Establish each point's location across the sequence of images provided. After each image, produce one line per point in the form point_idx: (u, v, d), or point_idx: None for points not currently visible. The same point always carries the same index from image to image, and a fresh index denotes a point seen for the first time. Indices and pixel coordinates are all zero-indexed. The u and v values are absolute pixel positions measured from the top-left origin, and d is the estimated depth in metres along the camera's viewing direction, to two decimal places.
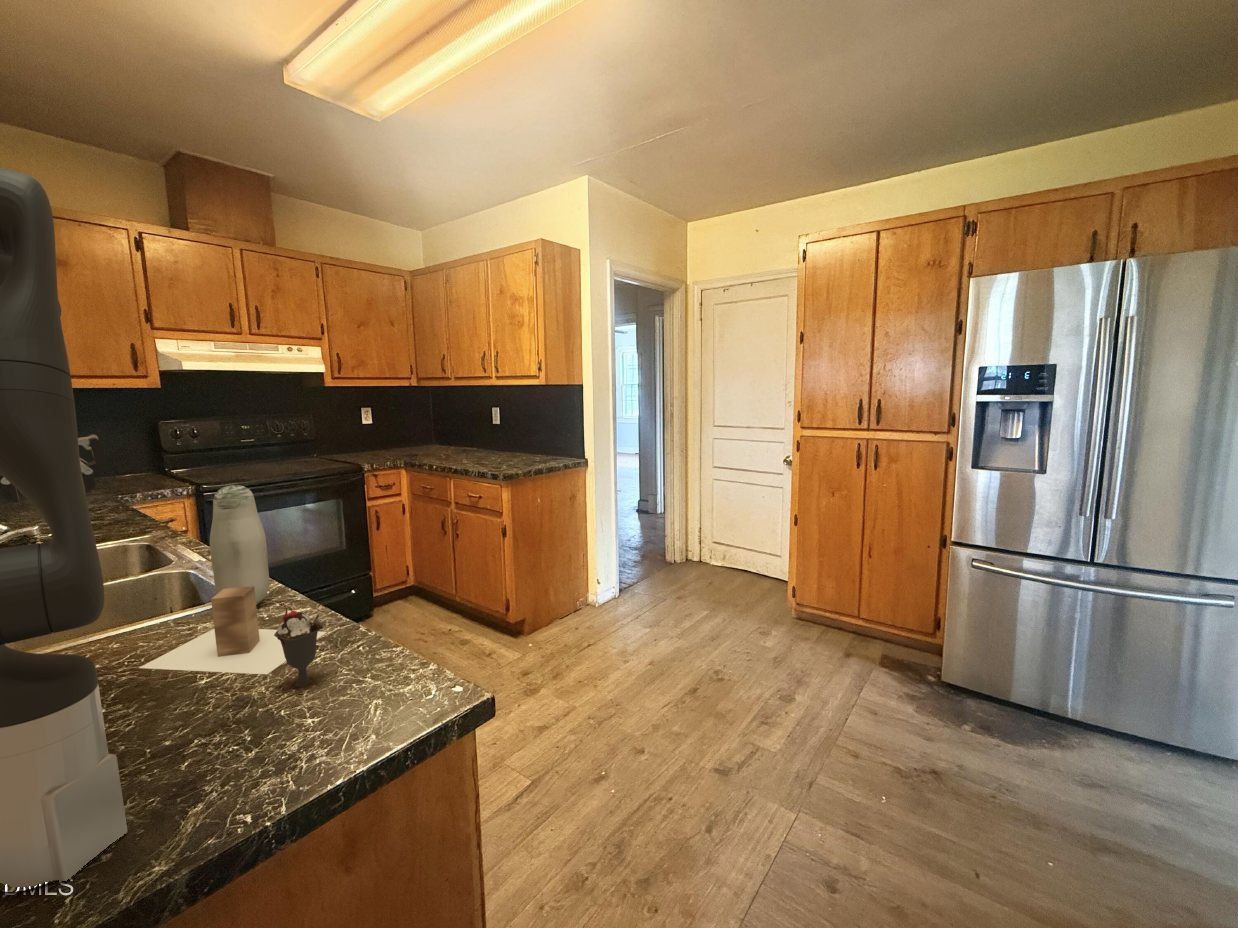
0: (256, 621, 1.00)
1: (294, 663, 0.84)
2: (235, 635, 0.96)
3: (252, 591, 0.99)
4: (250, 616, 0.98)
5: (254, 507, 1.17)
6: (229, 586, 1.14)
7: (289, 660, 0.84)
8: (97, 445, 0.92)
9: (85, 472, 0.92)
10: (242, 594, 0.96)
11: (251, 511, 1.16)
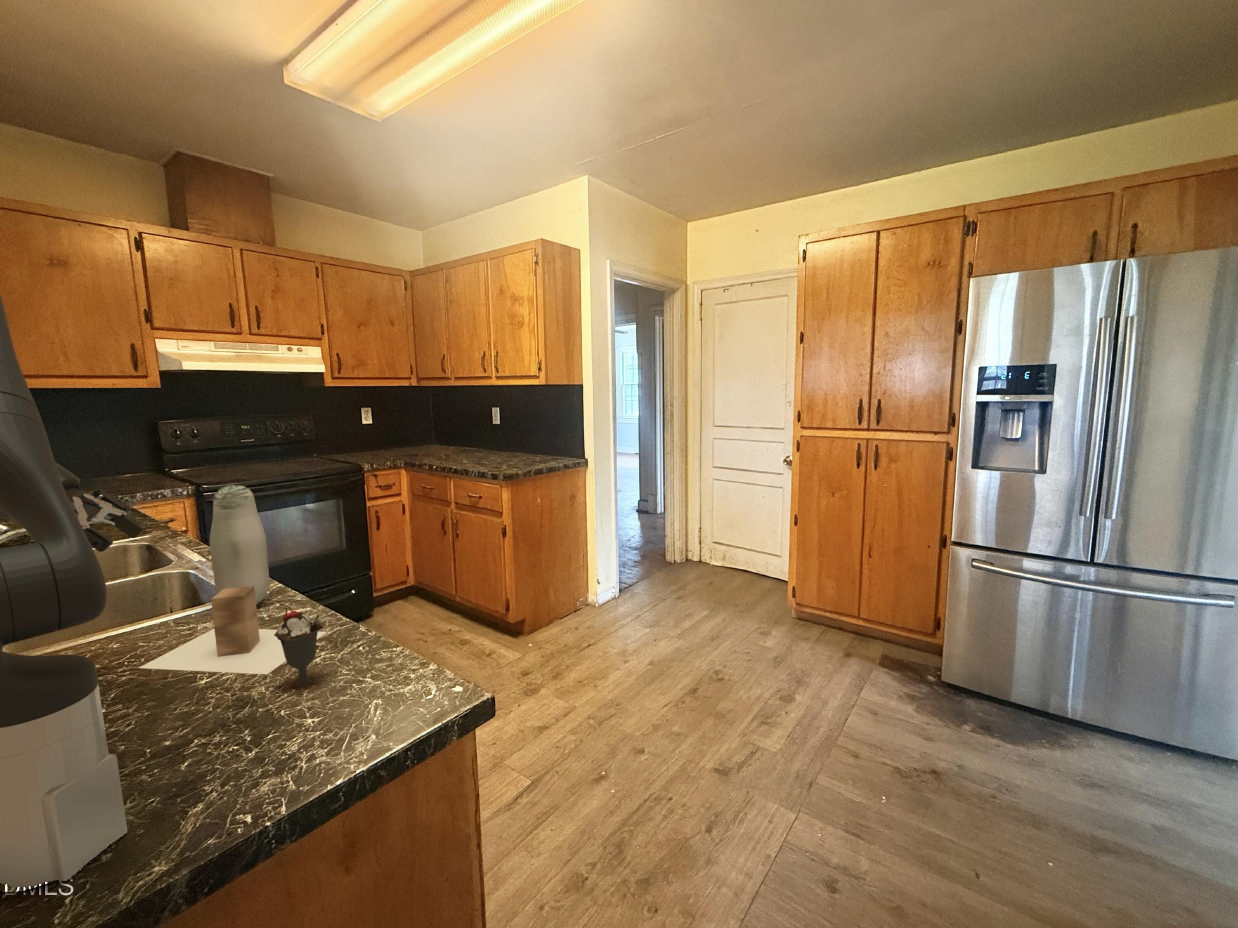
0: (256, 621, 1.00)
1: (294, 663, 0.84)
2: (235, 635, 0.96)
3: (252, 591, 0.99)
4: (250, 616, 0.98)
5: (254, 507, 1.17)
6: (229, 586, 1.14)
7: (289, 660, 0.84)
8: (104, 493, 0.93)
9: (122, 513, 0.93)
10: (242, 594, 0.96)
11: (251, 511, 1.16)
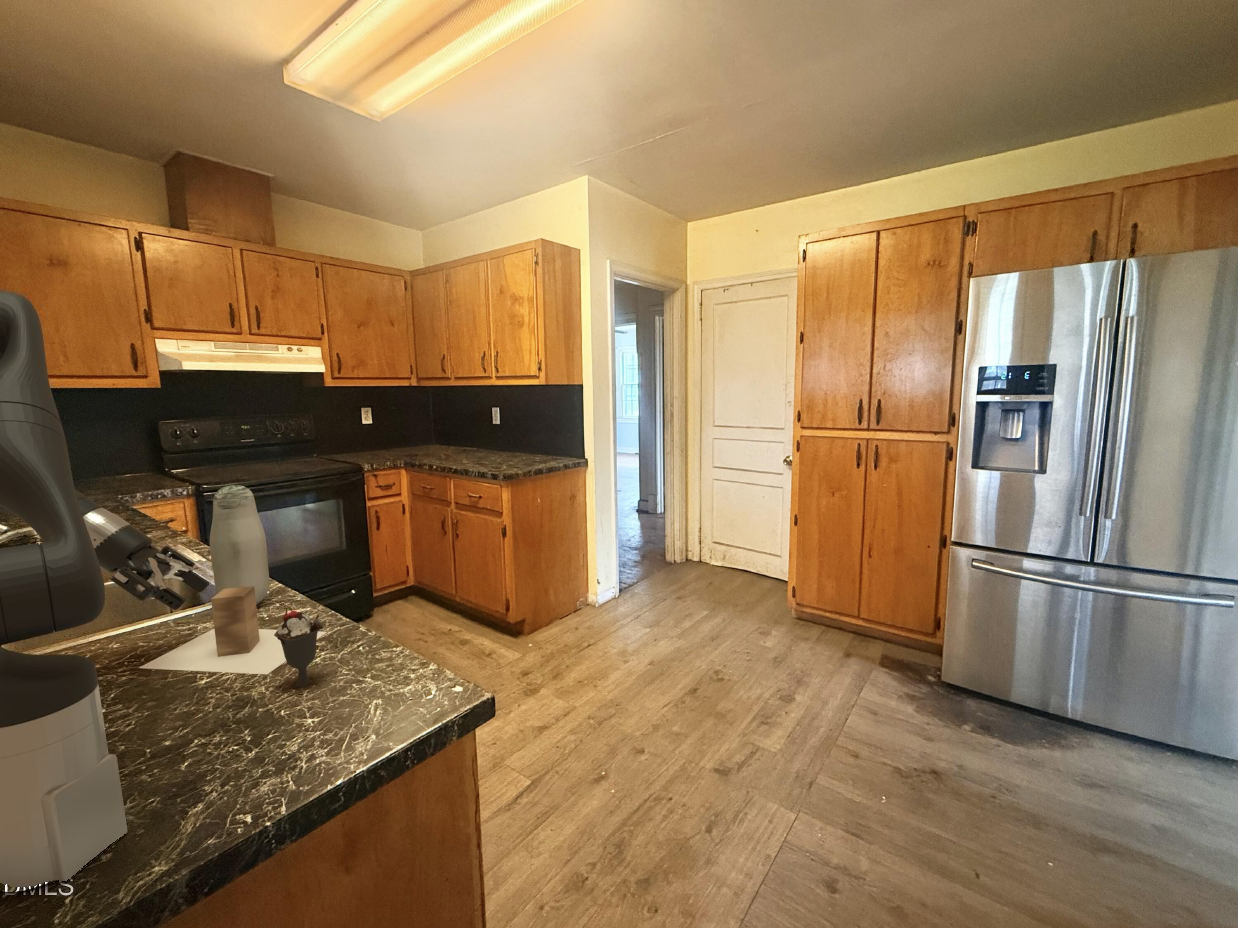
0: (256, 621, 1.00)
1: (294, 663, 0.84)
2: (235, 635, 0.96)
3: (252, 591, 0.99)
4: (250, 616, 0.98)
5: (254, 507, 1.17)
6: (229, 586, 1.14)
7: (289, 660, 0.84)
8: (172, 549, 0.99)
9: (189, 569, 0.98)
10: (242, 594, 0.96)
11: (251, 511, 1.16)
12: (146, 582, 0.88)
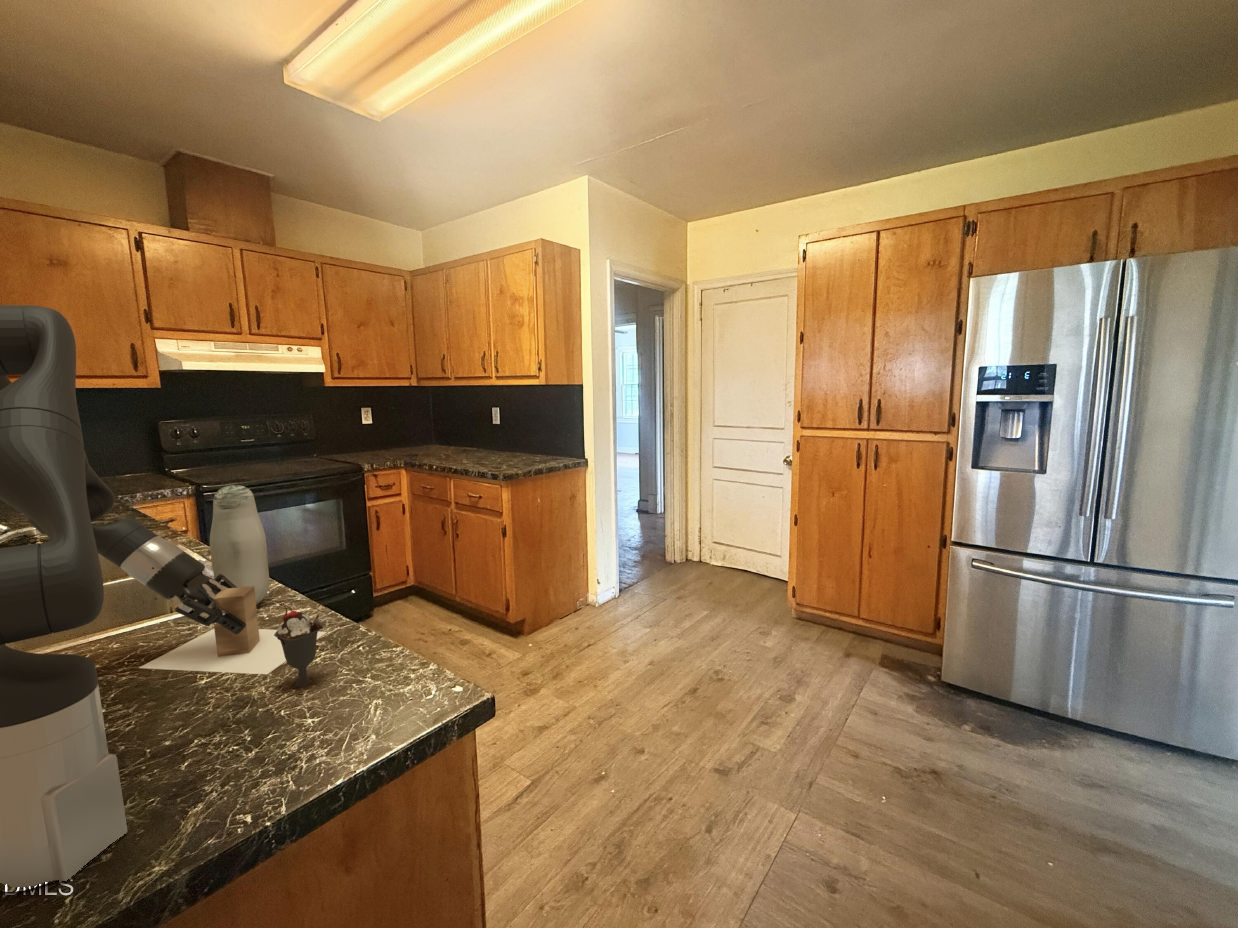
0: (256, 620, 1.00)
1: (294, 663, 0.84)
2: (235, 635, 0.96)
3: (252, 591, 0.99)
4: (250, 616, 0.98)
5: (254, 507, 1.17)
6: None
7: (289, 660, 0.84)
8: (225, 578, 1.02)
9: None
10: (242, 594, 0.96)
11: (251, 511, 1.16)
12: (210, 609, 0.92)
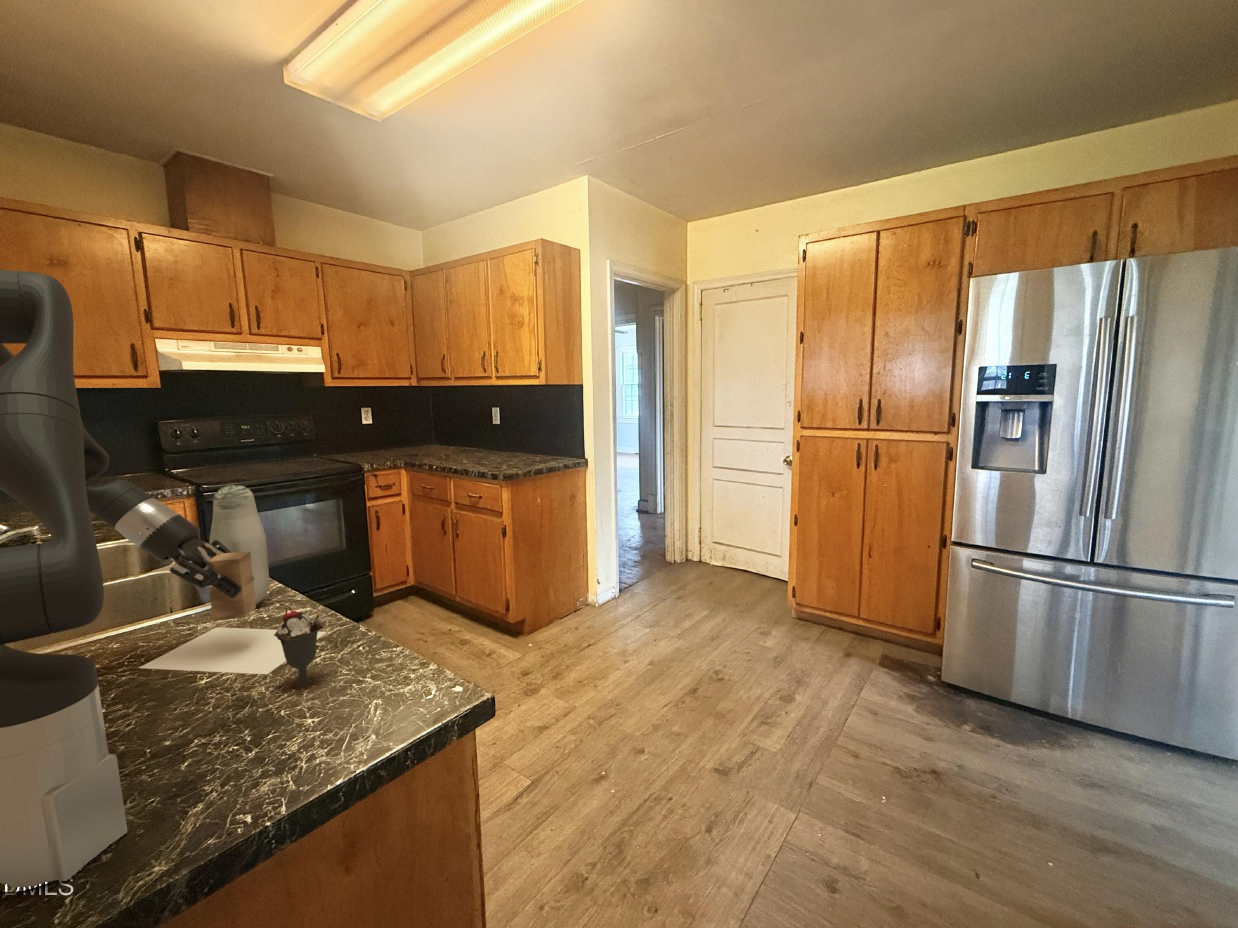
0: (252, 586, 0.99)
1: (294, 663, 0.84)
2: (231, 599, 0.95)
3: (248, 556, 0.98)
4: (246, 580, 0.97)
5: (254, 507, 1.17)
6: None
7: (289, 660, 0.84)
8: (221, 544, 1.01)
9: None
10: (238, 557, 0.95)
11: (251, 511, 1.16)
12: (205, 571, 0.91)
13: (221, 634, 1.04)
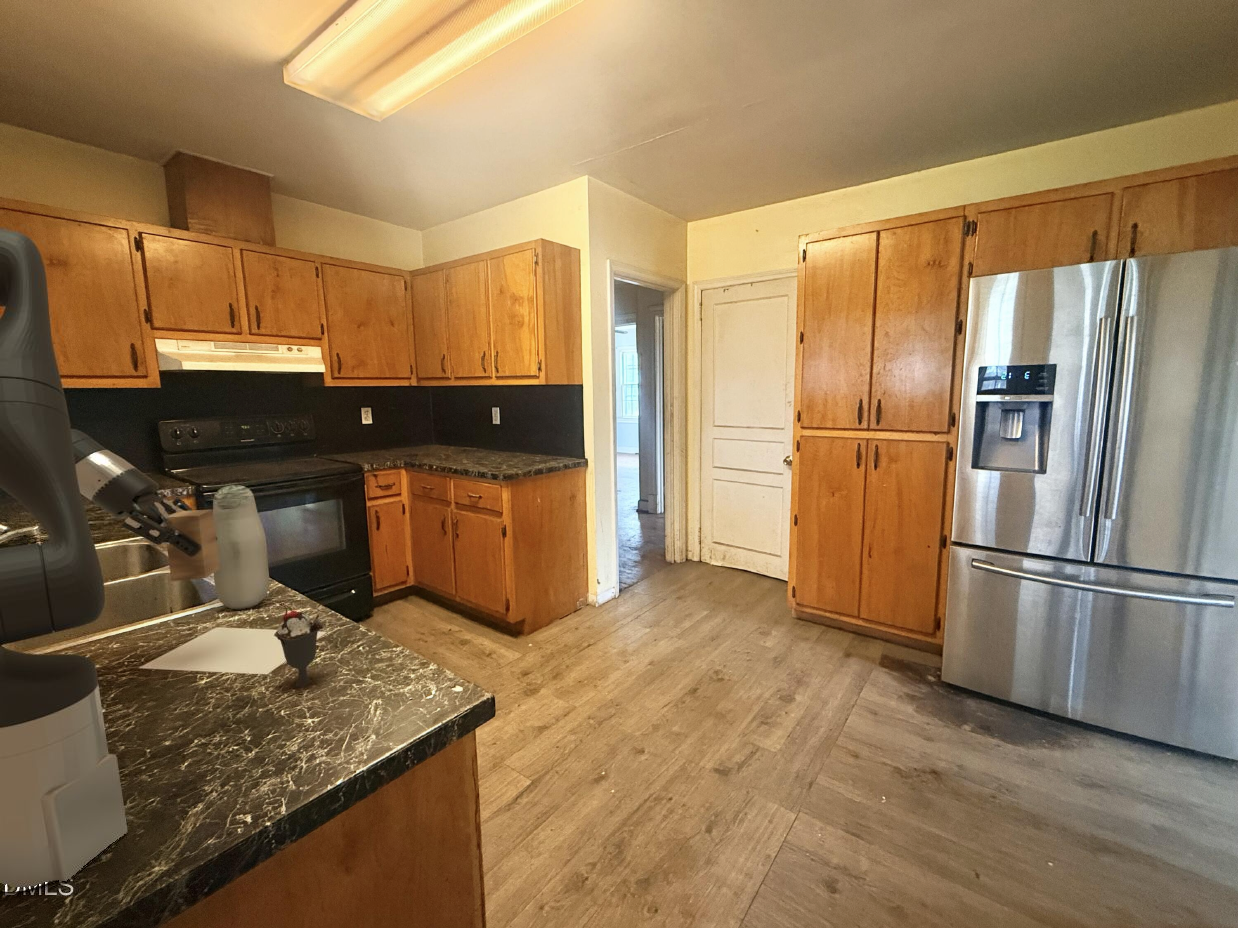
0: (214, 546, 0.94)
1: (294, 663, 0.84)
2: (190, 558, 0.89)
3: (210, 514, 0.93)
4: (207, 539, 0.92)
5: (254, 507, 1.17)
6: (229, 586, 1.14)
7: (289, 660, 0.84)
8: (183, 502, 0.96)
9: None
10: (198, 514, 0.90)
11: (251, 511, 1.16)
12: (160, 527, 0.85)
13: (221, 634, 1.04)
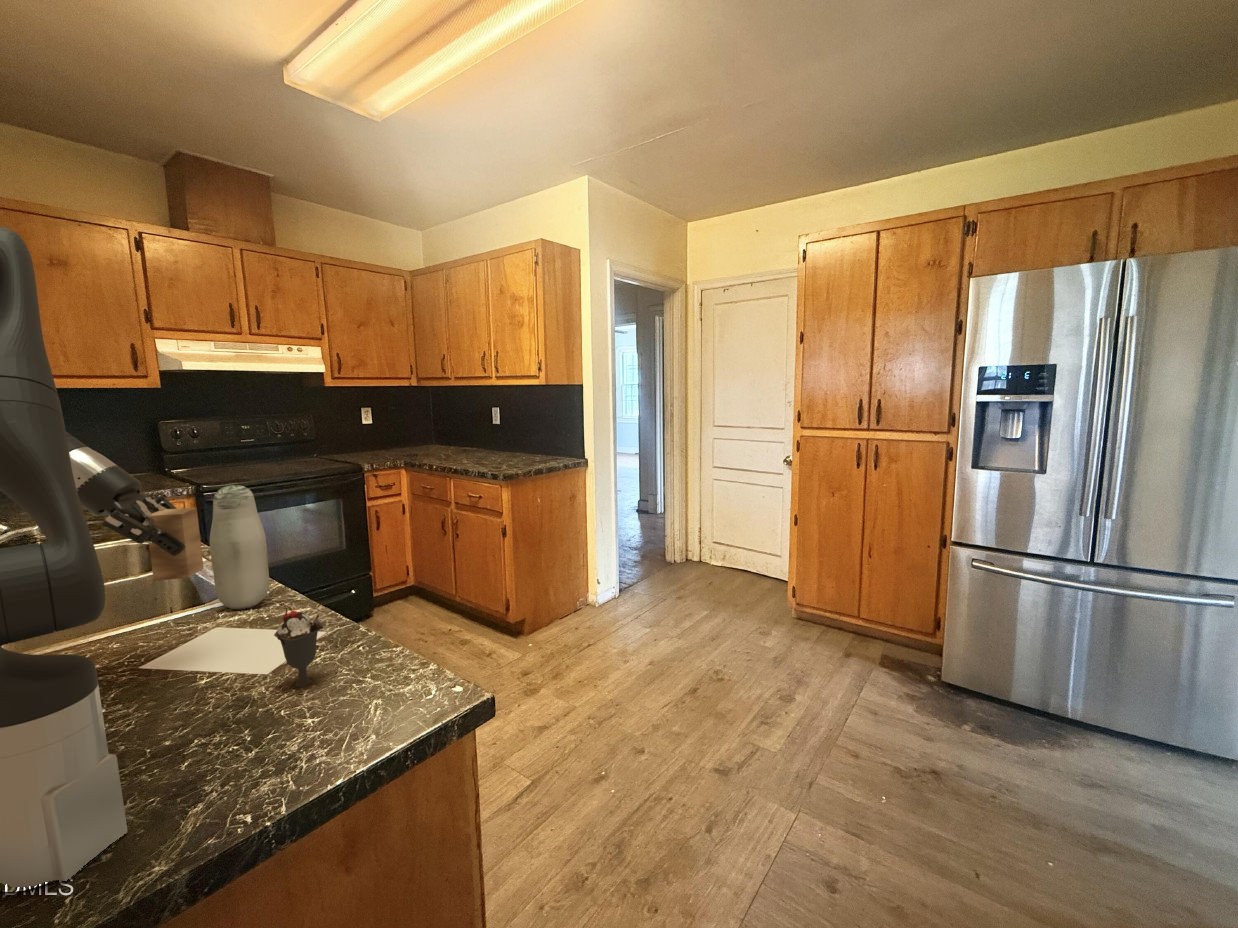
0: (198, 545, 0.92)
1: (294, 663, 0.84)
2: (173, 557, 0.88)
3: (194, 512, 0.91)
4: (191, 538, 0.90)
5: (254, 507, 1.17)
6: (229, 586, 1.14)
7: (289, 660, 0.84)
8: (166, 500, 0.94)
9: None
10: (181, 513, 0.88)
11: (251, 511, 1.16)
12: (142, 525, 0.84)
13: (221, 634, 1.04)
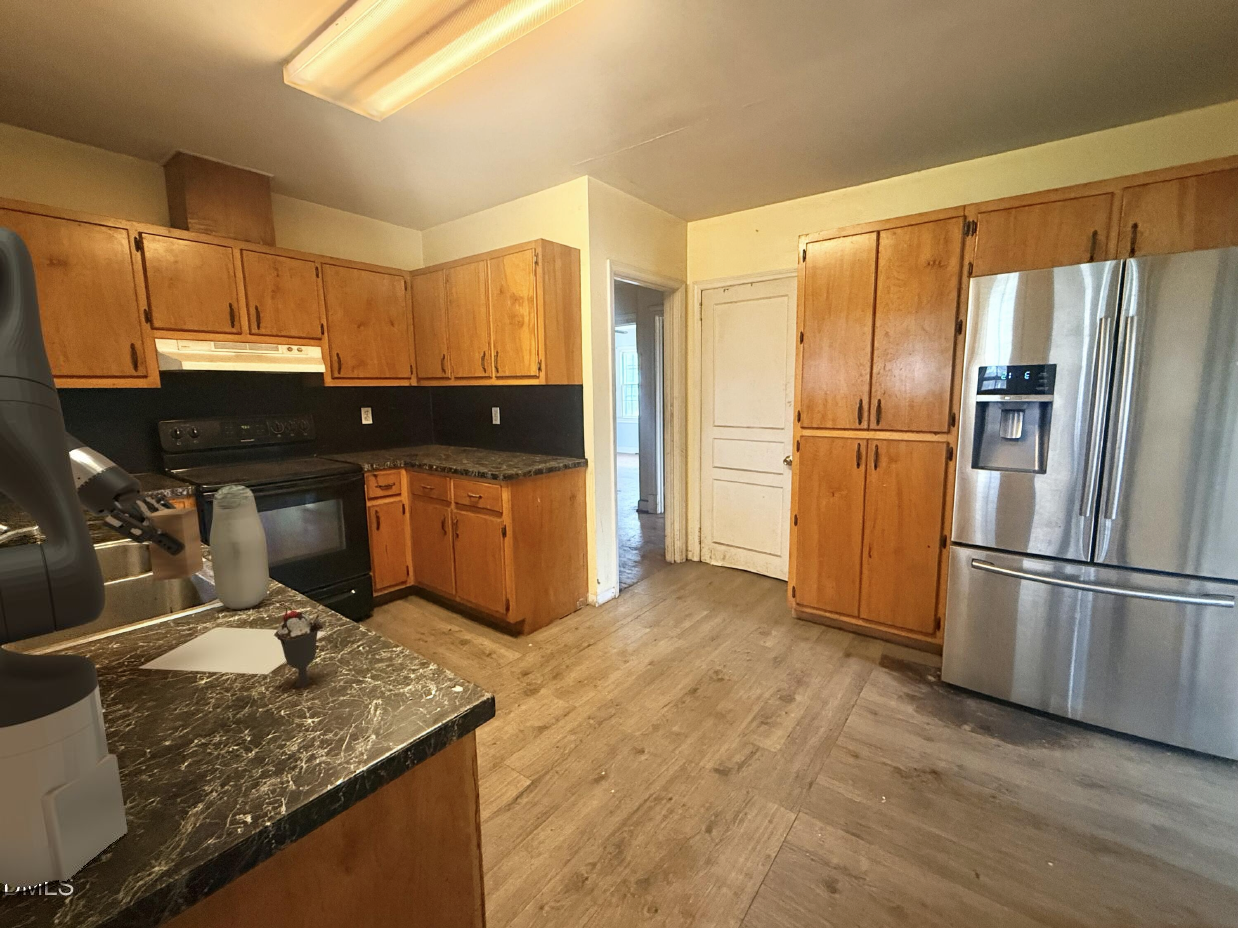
0: (198, 545, 0.92)
1: (294, 663, 0.84)
2: (173, 557, 0.88)
3: (194, 512, 0.91)
4: (191, 538, 0.90)
5: (254, 507, 1.17)
6: (229, 586, 1.14)
7: (289, 660, 0.84)
8: (166, 500, 0.94)
9: None
10: (181, 513, 0.88)
11: (251, 511, 1.16)
12: (142, 525, 0.84)
13: (221, 634, 1.04)
